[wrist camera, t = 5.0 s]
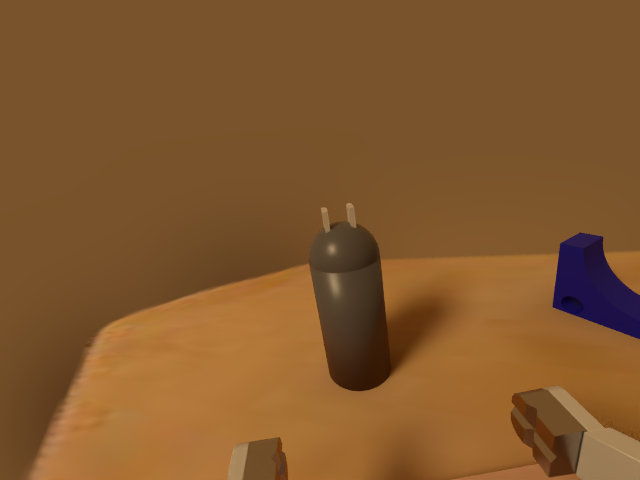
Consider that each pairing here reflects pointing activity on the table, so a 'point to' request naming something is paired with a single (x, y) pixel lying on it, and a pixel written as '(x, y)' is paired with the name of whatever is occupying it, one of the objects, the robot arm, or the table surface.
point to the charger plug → (350, 303)
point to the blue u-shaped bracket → (594, 287)
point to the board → (520, 475)
